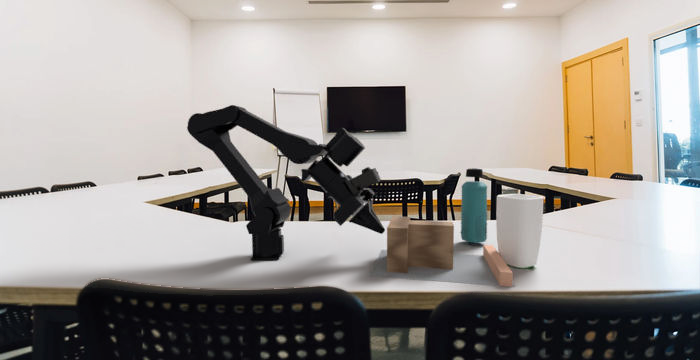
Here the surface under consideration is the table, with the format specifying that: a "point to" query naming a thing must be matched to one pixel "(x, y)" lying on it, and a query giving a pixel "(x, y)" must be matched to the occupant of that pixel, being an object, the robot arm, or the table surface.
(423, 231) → the t block
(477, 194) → the teal bottle
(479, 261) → the runner mat
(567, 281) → the table surface
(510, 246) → the cup
